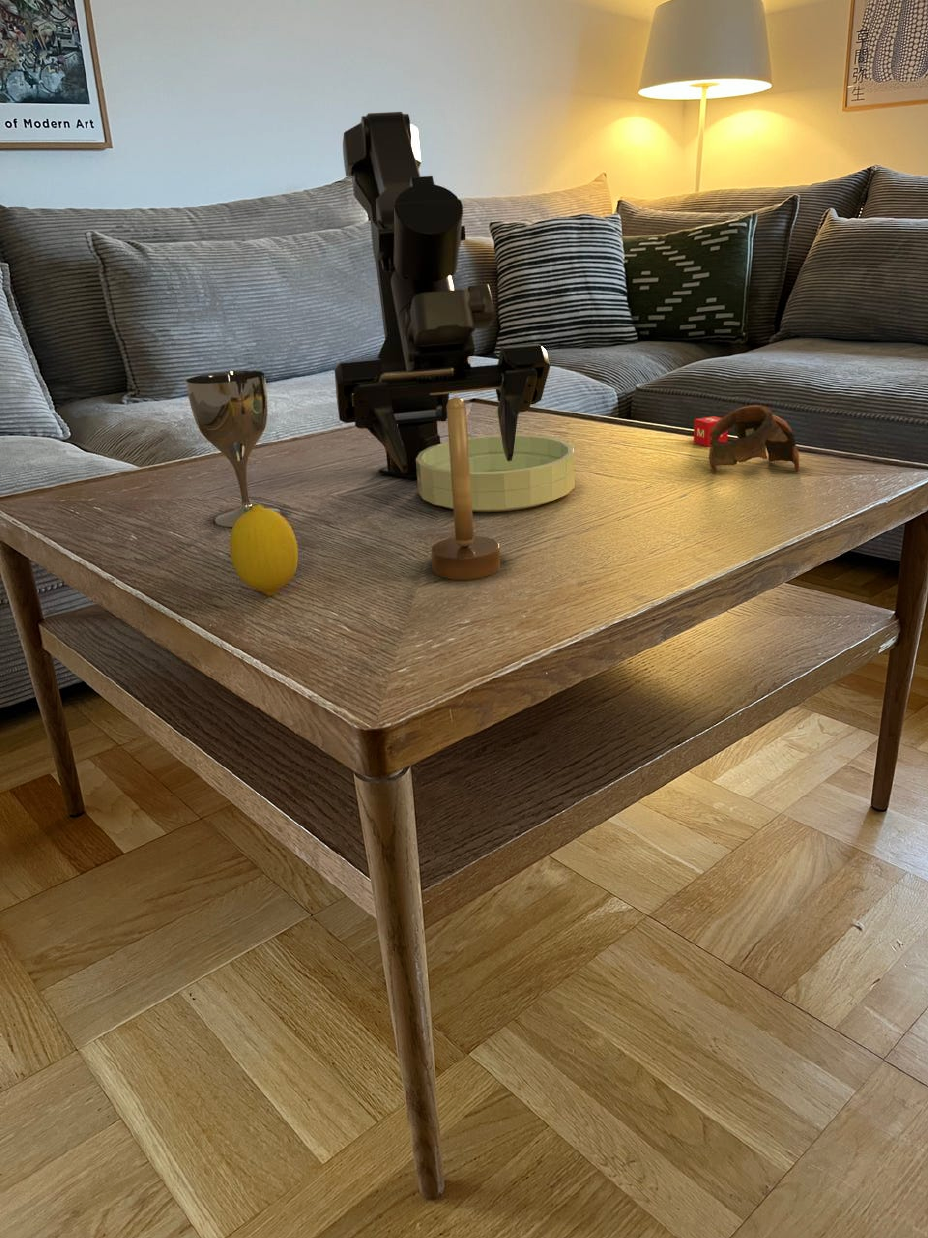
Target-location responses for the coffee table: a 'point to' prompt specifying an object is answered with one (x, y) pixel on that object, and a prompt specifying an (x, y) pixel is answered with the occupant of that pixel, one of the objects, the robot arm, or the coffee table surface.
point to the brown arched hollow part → (753, 438)
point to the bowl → (501, 473)
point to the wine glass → (231, 421)
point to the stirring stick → (462, 513)
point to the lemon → (263, 549)
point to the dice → (706, 430)
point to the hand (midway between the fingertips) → (458, 464)
